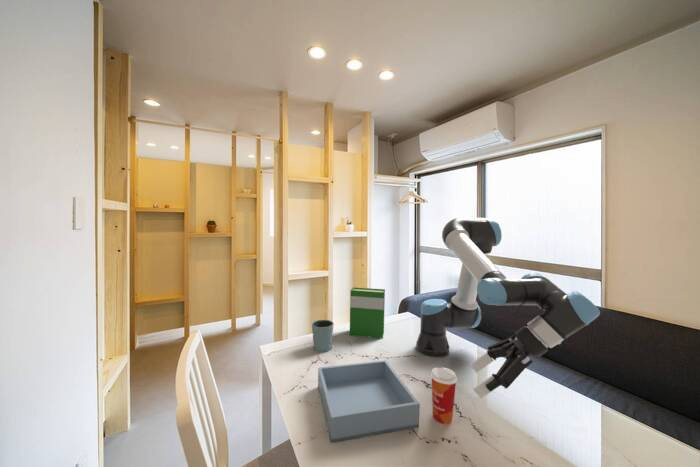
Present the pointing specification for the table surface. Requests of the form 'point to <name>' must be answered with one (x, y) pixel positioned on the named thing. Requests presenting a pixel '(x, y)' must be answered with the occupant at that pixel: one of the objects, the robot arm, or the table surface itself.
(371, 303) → the hardback book
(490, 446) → the table surface
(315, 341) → the grey-blue cup
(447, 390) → the paper cup
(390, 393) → the bin
